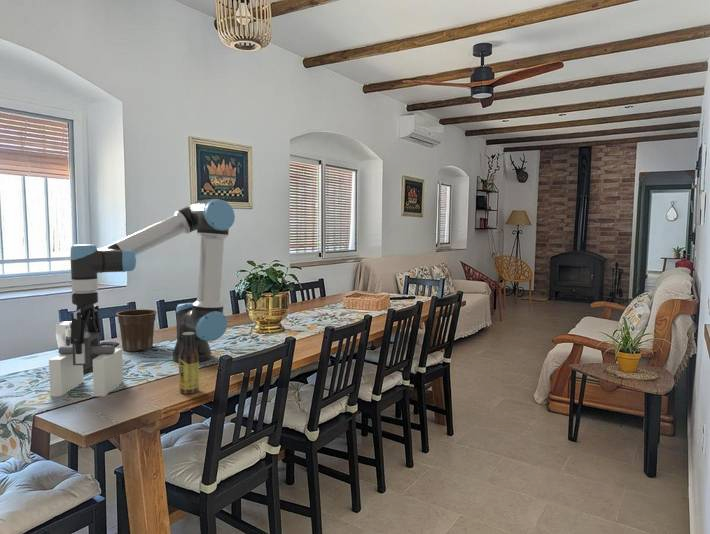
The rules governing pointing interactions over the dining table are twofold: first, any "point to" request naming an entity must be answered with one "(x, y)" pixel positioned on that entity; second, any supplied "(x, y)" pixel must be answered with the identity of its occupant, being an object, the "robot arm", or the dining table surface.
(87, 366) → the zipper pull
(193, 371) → the sauce bottle
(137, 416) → the dining table surface
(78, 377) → the shelf stand
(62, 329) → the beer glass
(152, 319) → the plant pot
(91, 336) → the grey block
